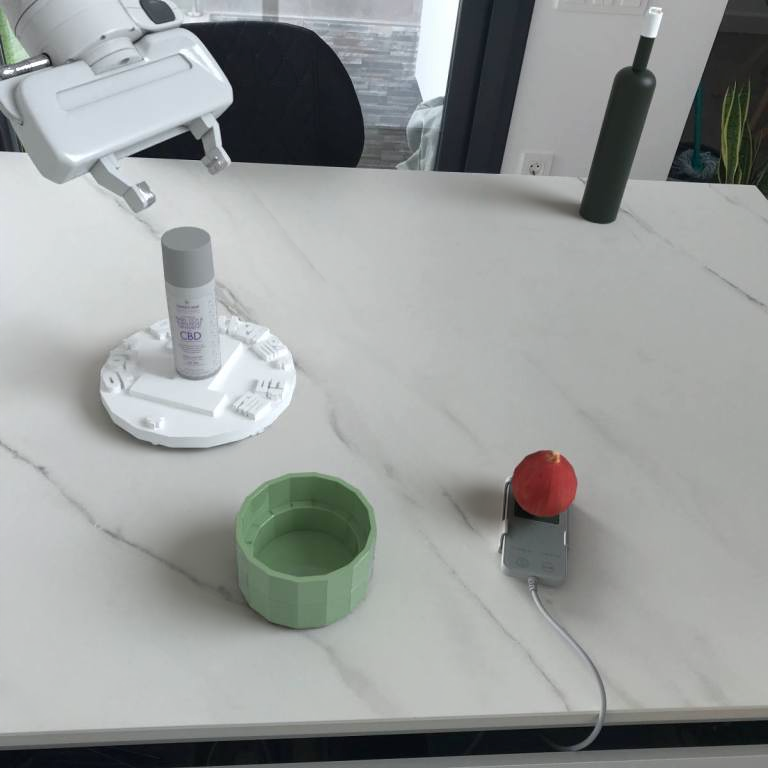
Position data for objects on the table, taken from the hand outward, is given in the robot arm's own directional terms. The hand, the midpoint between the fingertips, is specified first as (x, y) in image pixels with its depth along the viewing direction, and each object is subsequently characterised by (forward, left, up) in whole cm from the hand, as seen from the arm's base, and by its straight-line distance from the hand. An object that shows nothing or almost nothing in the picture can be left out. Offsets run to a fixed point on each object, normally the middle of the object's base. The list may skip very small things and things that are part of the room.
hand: (186, 187), depth 67 cm
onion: (+8, -35, -24) cm, 43 cm away
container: (0, +1, -21) cm, 21 cm away
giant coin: (0, +1, -24) cm, 24 cm away
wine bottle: (+69, -14, -24) cm, 75 cm away
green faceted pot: (-11, -23, -23) cm, 34 cm away
